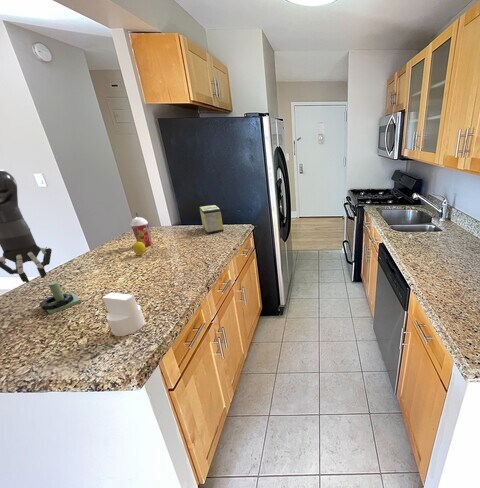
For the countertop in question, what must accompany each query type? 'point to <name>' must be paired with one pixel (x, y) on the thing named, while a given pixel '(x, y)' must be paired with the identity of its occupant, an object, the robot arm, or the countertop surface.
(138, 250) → the lemon
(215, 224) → the protein box
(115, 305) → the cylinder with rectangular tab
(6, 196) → the robot arm
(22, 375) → the countertop surface
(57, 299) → the post
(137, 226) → the smoothie
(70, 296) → the ring
